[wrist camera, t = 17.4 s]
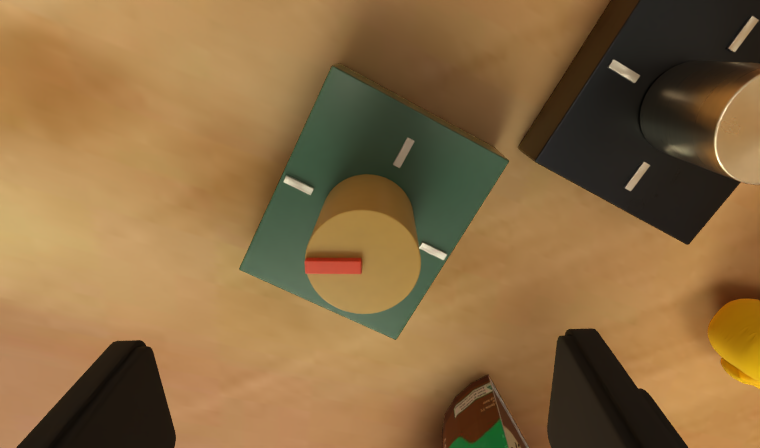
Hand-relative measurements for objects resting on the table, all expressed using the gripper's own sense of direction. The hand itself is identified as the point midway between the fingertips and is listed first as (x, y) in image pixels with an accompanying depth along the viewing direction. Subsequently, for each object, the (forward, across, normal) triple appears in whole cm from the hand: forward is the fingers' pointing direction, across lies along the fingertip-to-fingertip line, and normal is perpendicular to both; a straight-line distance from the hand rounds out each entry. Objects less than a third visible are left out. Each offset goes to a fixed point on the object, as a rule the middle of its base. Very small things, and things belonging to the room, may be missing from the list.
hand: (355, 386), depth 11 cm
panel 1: (+15, 0, +1) cm, 15 cm away
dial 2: (+12, -14, -4) cm, 19 cm away
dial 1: (+12, 0, +1) cm, 12 cm away
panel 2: (+15, -14, -4) cm, 21 cm away
